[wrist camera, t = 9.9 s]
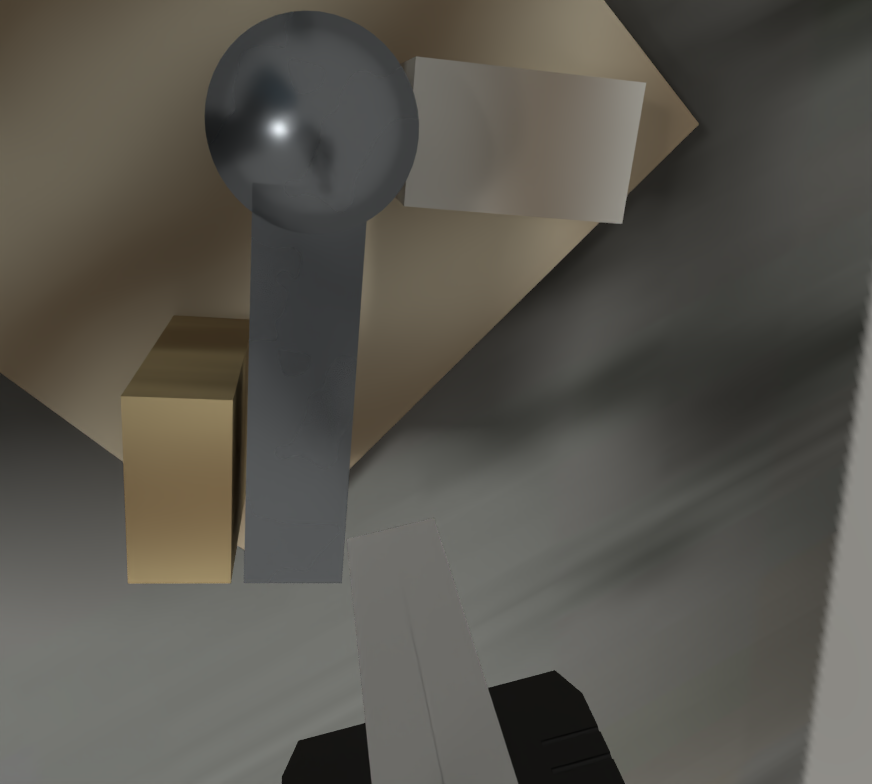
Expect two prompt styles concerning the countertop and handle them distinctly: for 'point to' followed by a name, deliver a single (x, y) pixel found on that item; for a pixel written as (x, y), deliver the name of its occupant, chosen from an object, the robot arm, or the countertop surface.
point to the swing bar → (306, 261)
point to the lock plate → (231, 223)
